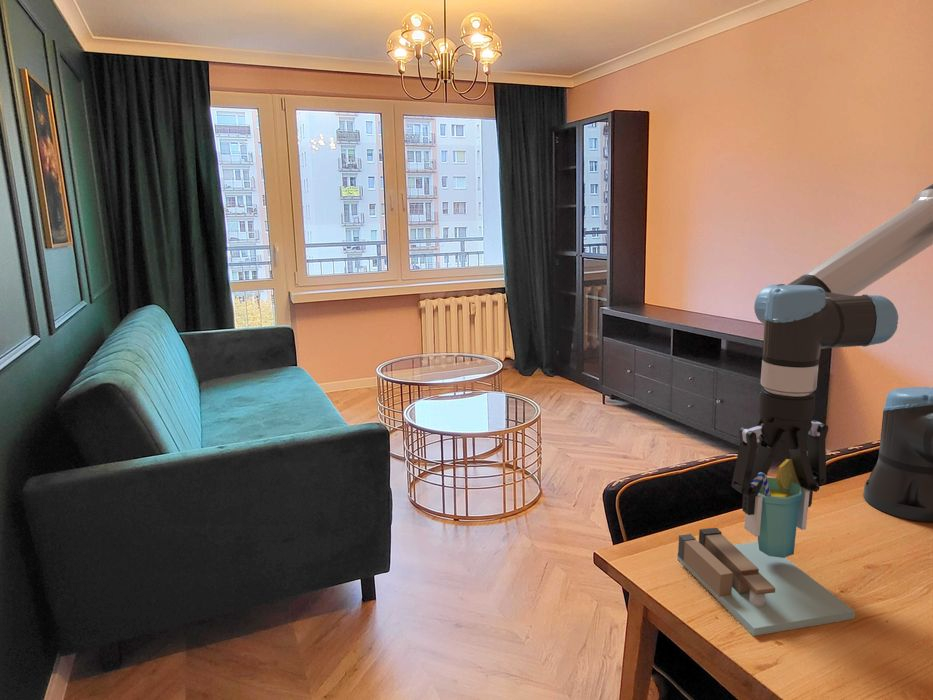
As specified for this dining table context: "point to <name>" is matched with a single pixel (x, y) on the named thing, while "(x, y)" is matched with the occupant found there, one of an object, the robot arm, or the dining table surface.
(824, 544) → the dining table surface
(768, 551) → the cup
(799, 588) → the stool seat
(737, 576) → the leg
